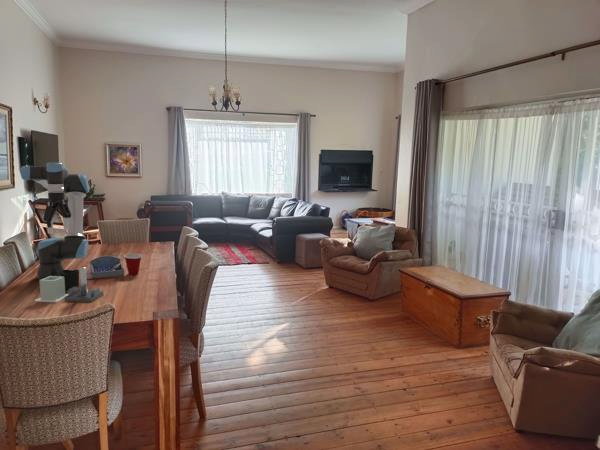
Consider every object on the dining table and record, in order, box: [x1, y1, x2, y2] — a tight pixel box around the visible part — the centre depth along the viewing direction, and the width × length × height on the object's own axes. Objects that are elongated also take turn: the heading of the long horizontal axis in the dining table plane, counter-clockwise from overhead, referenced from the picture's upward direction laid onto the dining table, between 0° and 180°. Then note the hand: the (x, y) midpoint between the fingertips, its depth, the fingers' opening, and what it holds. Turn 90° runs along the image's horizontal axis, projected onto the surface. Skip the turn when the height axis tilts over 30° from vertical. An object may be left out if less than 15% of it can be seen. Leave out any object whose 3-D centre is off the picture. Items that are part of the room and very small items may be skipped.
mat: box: [34, 293, 68, 304], centre depth 226 cm, size 12×12×1 cm
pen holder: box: [60, 269, 80, 291], centre depth 244 cm, size 9×9×10 cm
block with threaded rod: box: [63, 266, 104, 303], centre depth 227 cm, size 14×12×16 cm
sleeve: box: [38, 276, 66, 300], centre depth 226 cm, size 8×8×10 cm
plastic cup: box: [123, 253, 143, 276], centre depth 276 cm, size 11×11×12 cm
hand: (58, 231), depth 236 cm, fingers open, 13 cm apart
